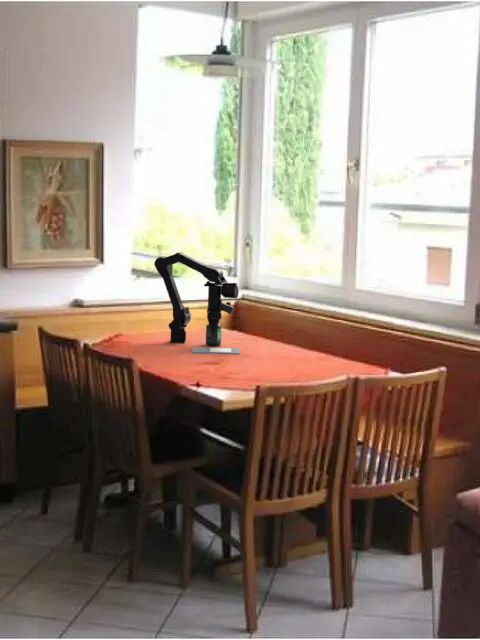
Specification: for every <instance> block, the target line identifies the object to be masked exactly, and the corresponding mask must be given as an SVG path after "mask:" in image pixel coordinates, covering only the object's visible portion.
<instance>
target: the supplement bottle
mask: <svg viewBox="0 0 480 640" xmlns="http://www.w3.org/2000/svg"><path fill="white" fill-rule="evenodd" d="M207 322H208V321H207ZM205 326H206V327H205V345H206V346H207V345H208V346H207V347H220V346H222V324H220V320H219V321H218V322H217V326H216V330H215V333H212V330H211V327H210V325H209V322H208V323H207V324H206V325H205Z"/></svg>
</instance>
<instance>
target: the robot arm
mask: <svg viewBox="0 0 480 640" xmlns="http://www.w3.org/2000/svg"><path fill="white" fill-rule="evenodd" d="M178 263H180V264H182V265H184V266H187V267H188V268H190V269H192V270H194V271H195V272H198V273H199V274H201V275H202V276H203V277H204V278H205V279H206V280H207V281H206V283H204V284H203V287H207V288H208V289H207V290H208V291H207V308H206V316H207V317H206V318H207V322H209V323H208V324H209V325H210V327H211V330H212V333H215V330H216V326H217V322H218V321H219V322H220V321H221V320H222V316H223V315H222V312H225V313H227V314H228V315H232V313H233V310H234V306H233V305H231V304H232V303H231V301H230V302H229V301H227V302H226V303H225V302H223V301H222V297H223V298H224V299H238V296H239V292H240V291H239V287H238V282H228V281H227V279H226V278H225V276H224V272H223V270H222V269H221V268H219V267H215V266H212V265H207V264H205V263H204V262H200V261H199V260H197V259H195V258H193V257H191V256H189V255H187V254H185V253H184V252H182V251H181V252H175V253H174V254H172V255H168V256H161V257H157V258H156V259H155V260H154V264H153V265H154V267H155V269H156V271H157V273H158V274H159V276H160V277H162V280H163V283H164V285H165V289H166V291H167V294H168V297H169V301H170V303H171V304H170V305H171V306H172V318H173V320H171V322H170V323H168V328H169V330H170V339H169V342H170V343H173V344H175V343H179V344H184V343H185V342H186V341H187V331H186V328H187V327H188V324H189V323H190V322H191V319H192V318H191V316H192V314H191V311H190V309H189V306H184V305H183V302H182V299H181V296H180V293H179V290H178V287H177V285H176V281H175V277H174V276H173V269H174V267H173V265H175V264H178Z"/></svg>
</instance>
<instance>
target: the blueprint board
mask: <svg viewBox="0 0 480 640" xmlns="http://www.w3.org/2000/svg"><path fill="white" fill-rule="evenodd" d="M208 353H222V354H221V355H240V354H241V352H240V348H239V347H220V346H192V354H208Z"/></svg>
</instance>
